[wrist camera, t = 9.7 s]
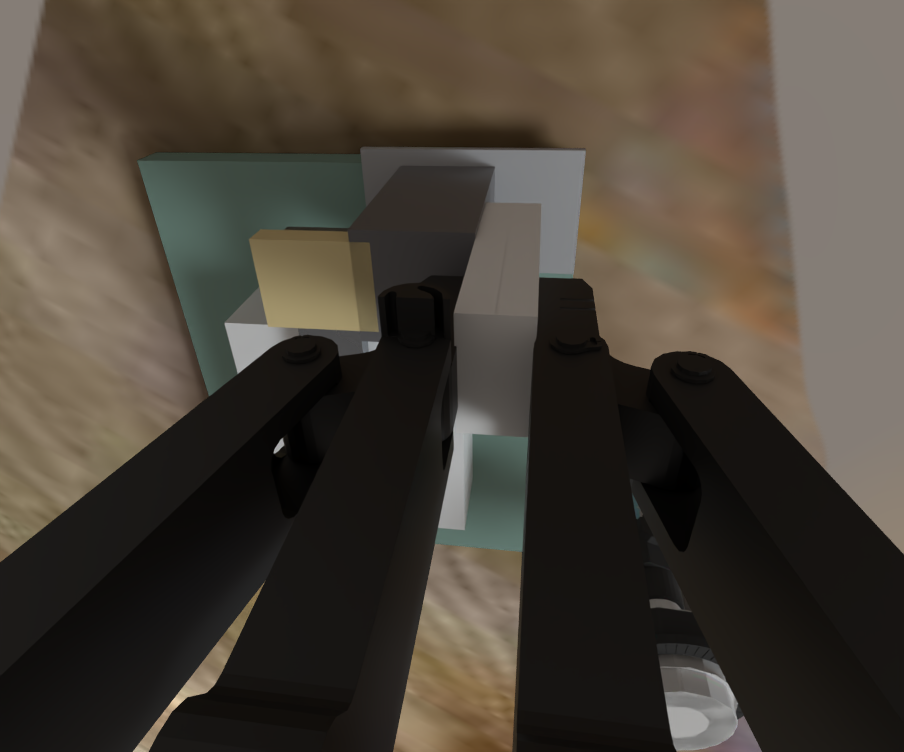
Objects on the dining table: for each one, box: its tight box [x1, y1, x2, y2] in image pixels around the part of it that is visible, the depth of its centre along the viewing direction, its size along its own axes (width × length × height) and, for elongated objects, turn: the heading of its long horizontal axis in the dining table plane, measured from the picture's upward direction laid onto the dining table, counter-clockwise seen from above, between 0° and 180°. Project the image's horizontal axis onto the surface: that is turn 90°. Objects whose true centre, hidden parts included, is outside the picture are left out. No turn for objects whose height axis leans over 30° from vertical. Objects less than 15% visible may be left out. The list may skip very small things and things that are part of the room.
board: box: [137, 147, 586, 552], centre depth 23 cm, size 15×18×4 cm
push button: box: [632, 494, 744, 750], centre depth 23 cm, size 7×5×10 cm
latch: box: [249, 166, 495, 342], centre depth 17 cm, size 6×3×6 cm, turn 91°
